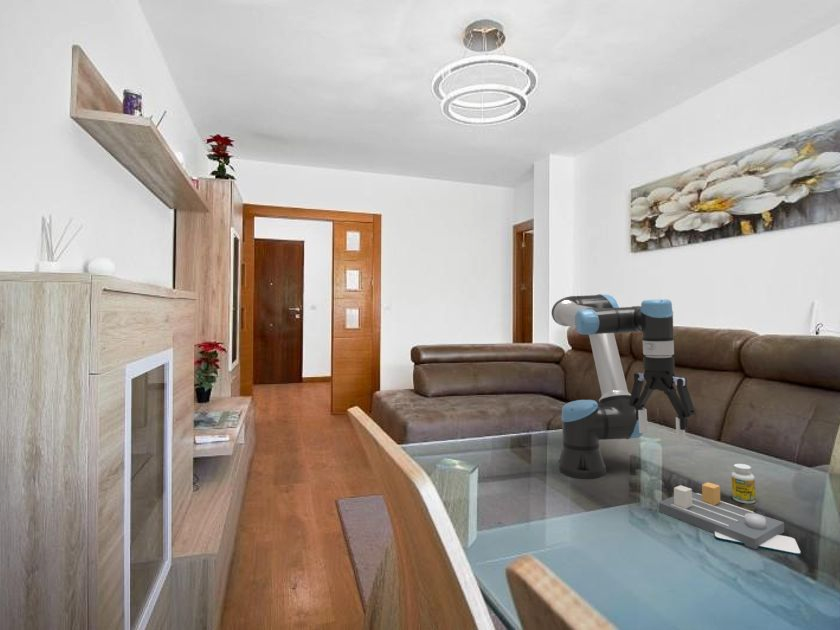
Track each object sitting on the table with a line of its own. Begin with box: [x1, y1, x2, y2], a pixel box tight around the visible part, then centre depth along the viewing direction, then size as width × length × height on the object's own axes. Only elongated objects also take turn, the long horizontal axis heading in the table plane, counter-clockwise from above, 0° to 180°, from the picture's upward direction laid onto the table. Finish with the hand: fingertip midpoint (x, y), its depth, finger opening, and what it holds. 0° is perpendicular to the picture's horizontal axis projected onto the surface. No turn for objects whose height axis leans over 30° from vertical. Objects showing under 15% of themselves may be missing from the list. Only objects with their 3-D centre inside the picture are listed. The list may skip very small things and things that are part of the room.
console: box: [658, 491, 785, 551], centre depth 115 cm, size 23×14×4 cm, turn 29°
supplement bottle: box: [730, 463, 757, 505], centre depth 126 cm, size 5×5×10 cm
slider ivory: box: [673, 484, 693, 509], centre depth 119 cm, size 3×3×4 cm
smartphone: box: [713, 531, 802, 556], centre depth 106 cm, size 8×1×16 cm
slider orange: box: [701, 481, 721, 505], centre depth 120 cm, size 3×3×4 cm
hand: (661, 436), depth 123 cm, fingers open, 10 cm apart
